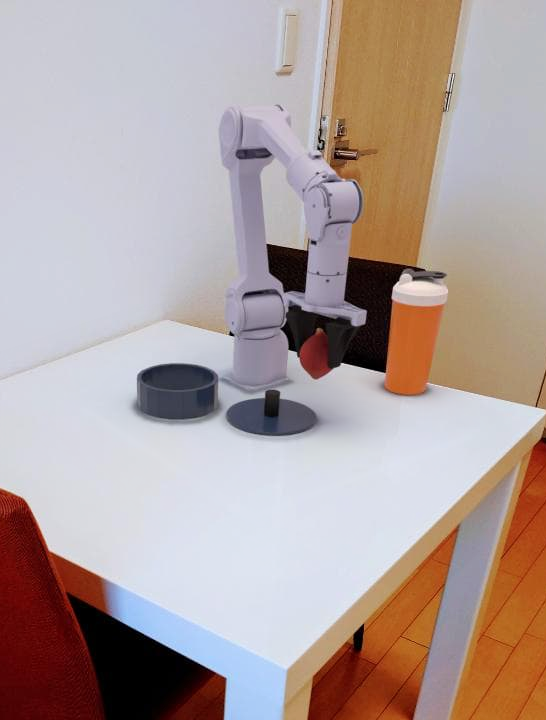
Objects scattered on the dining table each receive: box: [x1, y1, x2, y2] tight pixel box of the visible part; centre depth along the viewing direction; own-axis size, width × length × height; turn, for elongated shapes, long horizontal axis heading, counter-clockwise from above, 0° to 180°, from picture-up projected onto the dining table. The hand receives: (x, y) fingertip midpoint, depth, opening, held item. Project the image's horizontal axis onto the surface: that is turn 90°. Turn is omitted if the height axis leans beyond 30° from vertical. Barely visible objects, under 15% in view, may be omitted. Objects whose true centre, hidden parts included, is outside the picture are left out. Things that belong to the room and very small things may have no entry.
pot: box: [136, 362, 219, 421], centre depth 134 cm, size 13×13×5 cm
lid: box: [226, 389, 317, 437], centre depth 129 cm, size 14×14×5 cm
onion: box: [299, 327, 335, 380], centre depth 124 cm, size 6×6×8 cm
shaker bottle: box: [384, 268, 449, 396], centre depth 138 cm, size 9×9×20 cm
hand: (318, 361), depth 125 cm, fingers closed on onion, 6 cm apart
